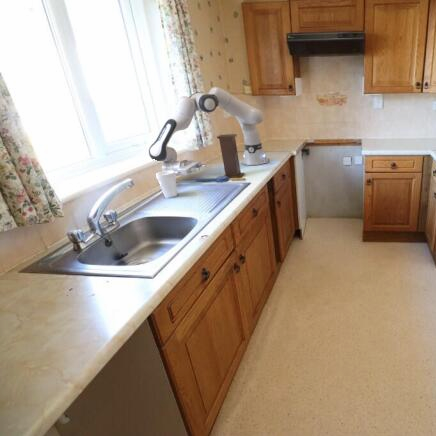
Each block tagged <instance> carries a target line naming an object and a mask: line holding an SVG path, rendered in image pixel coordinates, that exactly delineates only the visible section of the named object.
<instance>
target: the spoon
mask: <svg viewBox="0 0 436 436" xmlns="http://www.w3.org/2000/svg"><path fill="white" fill-rule="evenodd" d="M195 181H196V182H213V181H214V182H217V183H225V182H228V181H229V178H228V177H227V176H223V175H221V176H220V175H219V176H217V177H209V178H208V177H207V178H206V177H205V178H196V179H195Z"/></svg>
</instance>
